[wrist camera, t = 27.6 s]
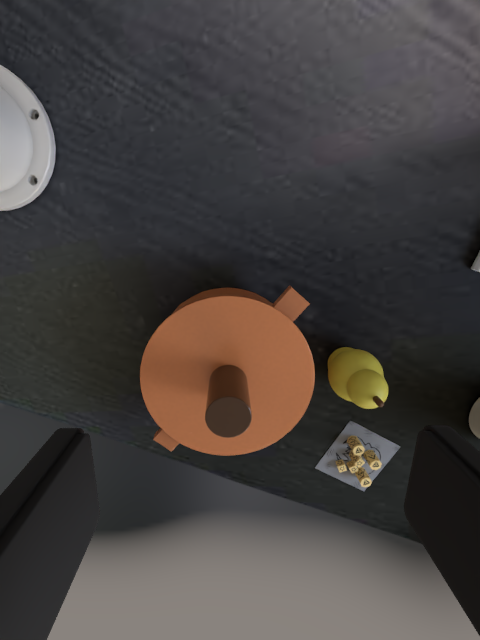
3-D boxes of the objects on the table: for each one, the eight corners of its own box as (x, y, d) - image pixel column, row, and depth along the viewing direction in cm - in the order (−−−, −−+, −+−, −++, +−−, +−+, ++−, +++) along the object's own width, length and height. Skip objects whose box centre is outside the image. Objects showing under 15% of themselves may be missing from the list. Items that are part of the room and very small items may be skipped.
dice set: (351, 433, 40) (357, 443, 38) (383, 449, 41) (390, 460, 39) (328, 463, 41) (333, 474, 39) (360, 478, 42) (366, 490, 40)
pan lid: (108, 385, 31) (74, 430, 24) (218, 255, 28) (215, 263, 21) (236, 475, 34) (238, 536, 27) (346, 367, 31) (379, 405, 24)
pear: (310, 365, 37) (337, 409, 28) (345, 330, 36) (384, 364, 27) (343, 393, 38) (379, 443, 29) (377, 360, 37) (425, 402, 28)
